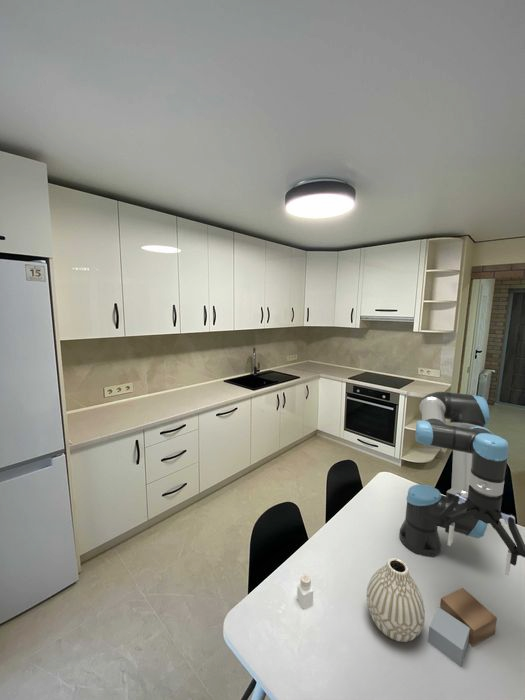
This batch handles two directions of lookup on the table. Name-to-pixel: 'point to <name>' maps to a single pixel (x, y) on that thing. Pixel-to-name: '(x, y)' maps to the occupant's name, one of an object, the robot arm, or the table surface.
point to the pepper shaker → (305, 592)
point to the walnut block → (470, 615)
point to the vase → (395, 602)
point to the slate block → (449, 635)
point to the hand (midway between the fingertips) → (476, 556)
